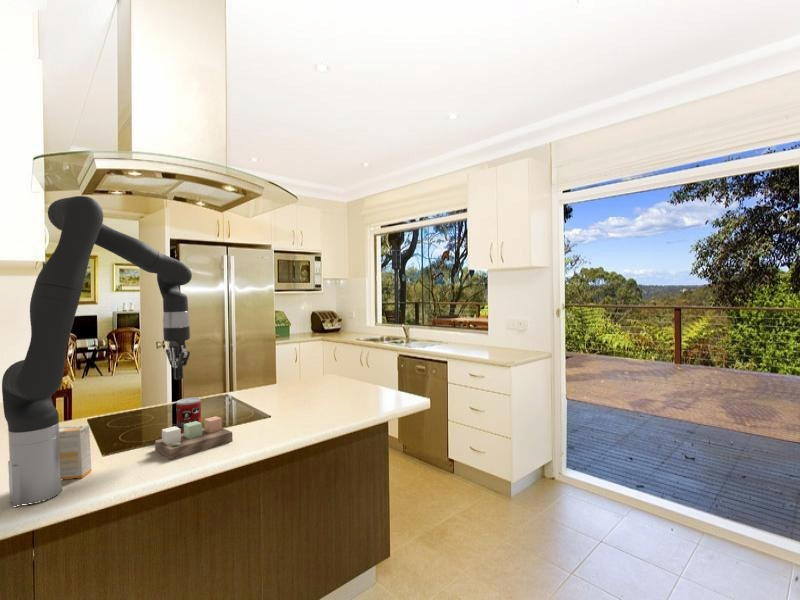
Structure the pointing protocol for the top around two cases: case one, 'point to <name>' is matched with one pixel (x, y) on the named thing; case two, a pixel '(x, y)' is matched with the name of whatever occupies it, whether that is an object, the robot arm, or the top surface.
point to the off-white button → (171, 435)
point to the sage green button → (192, 429)
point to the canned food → (188, 411)
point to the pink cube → (212, 424)
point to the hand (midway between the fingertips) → (178, 379)
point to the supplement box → (75, 451)
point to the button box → (193, 443)
